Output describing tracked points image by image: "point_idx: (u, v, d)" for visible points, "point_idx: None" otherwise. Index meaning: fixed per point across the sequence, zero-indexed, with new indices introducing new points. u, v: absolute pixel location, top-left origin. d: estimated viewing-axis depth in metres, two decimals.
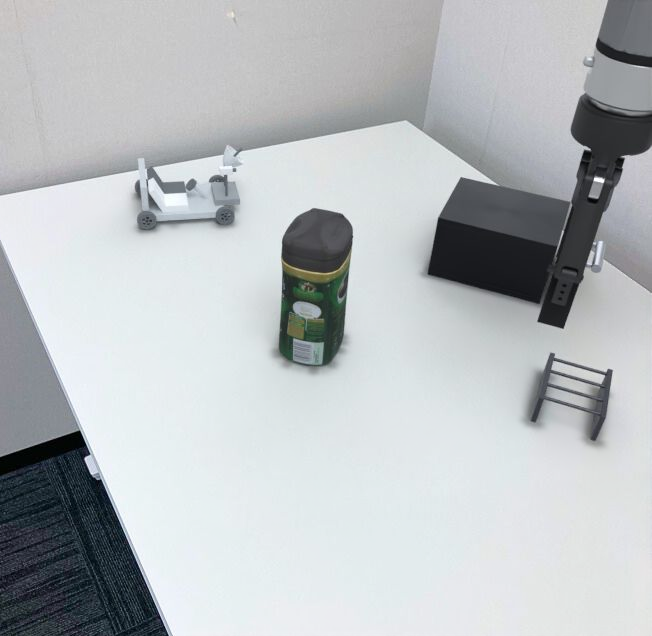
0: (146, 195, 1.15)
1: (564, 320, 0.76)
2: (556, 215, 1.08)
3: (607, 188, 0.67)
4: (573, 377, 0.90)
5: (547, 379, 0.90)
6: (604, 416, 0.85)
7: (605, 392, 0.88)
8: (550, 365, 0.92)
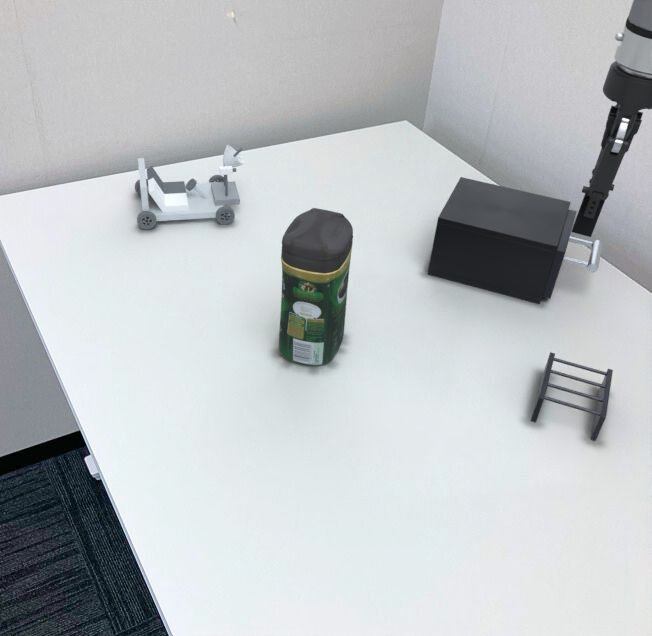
0: (146, 195, 1.15)
1: (591, 230, 1.05)
2: (556, 215, 1.08)
3: (624, 149, 0.92)
4: (573, 377, 0.90)
5: (547, 379, 0.90)
6: (604, 416, 0.85)
7: (605, 392, 0.88)
8: (550, 365, 0.92)
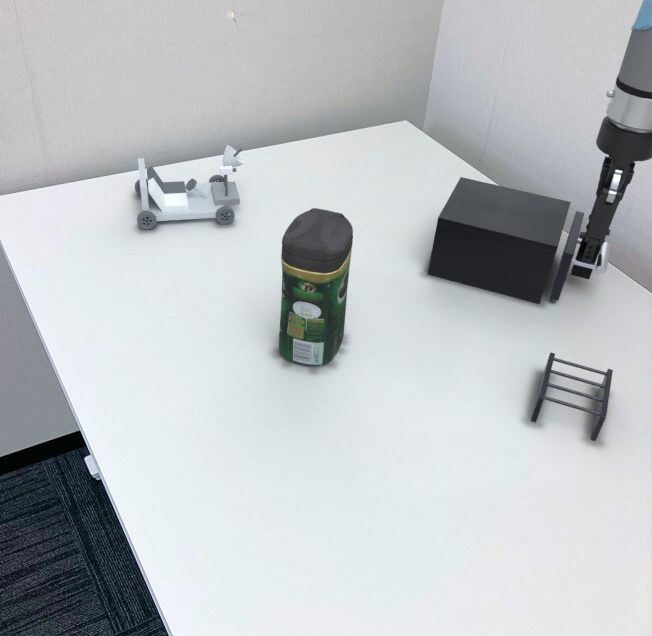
0: (146, 195, 1.15)
1: (590, 273, 1.09)
2: (556, 215, 1.08)
3: (617, 200, 0.96)
4: (573, 377, 0.90)
5: (547, 379, 0.90)
6: (604, 416, 0.85)
7: (605, 392, 0.88)
8: (550, 365, 0.92)
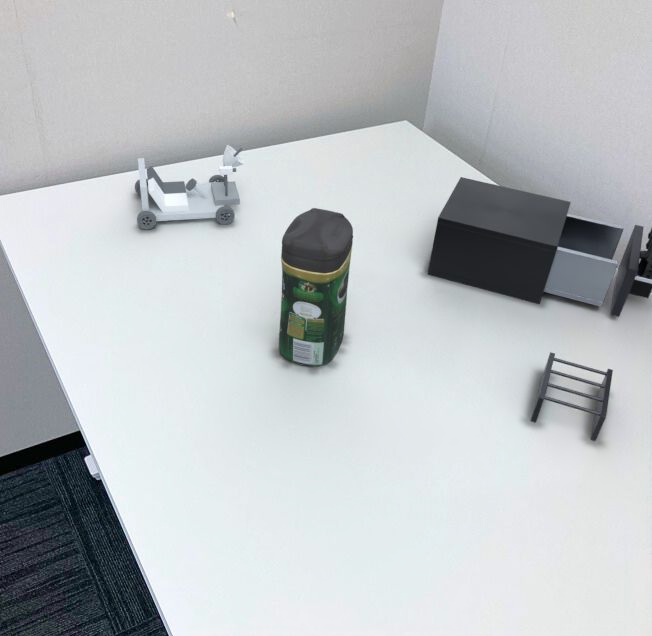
0: (146, 195, 1.15)
1: (649, 292, 1.07)
2: (556, 215, 1.08)
3: None
4: (573, 377, 0.90)
5: (547, 379, 0.90)
6: (604, 416, 0.85)
7: (605, 392, 0.88)
8: (550, 365, 0.92)
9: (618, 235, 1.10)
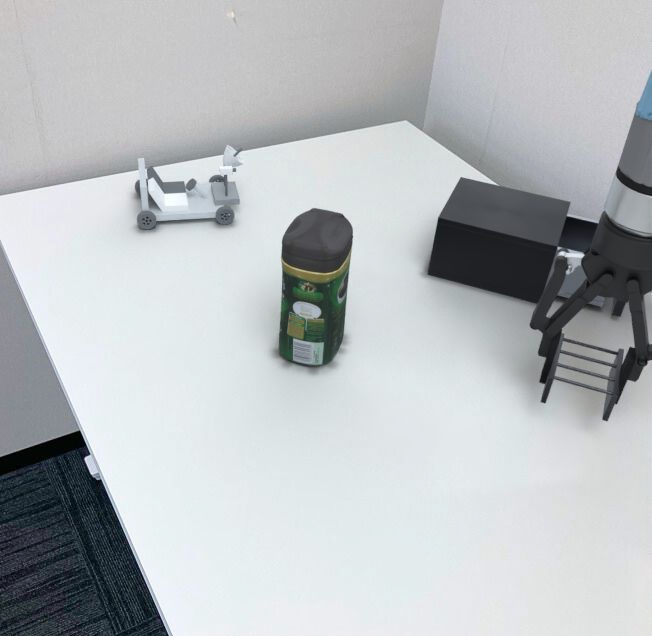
0: (146, 195, 1.15)
1: (541, 374, 0.89)
2: (556, 215, 1.08)
3: None
4: (583, 357, 0.88)
5: (557, 359, 0.87)
6: (616, 395, 0.83)
7: (617, 371, 0.86)
8: (560, 345, 0.89)
9: None
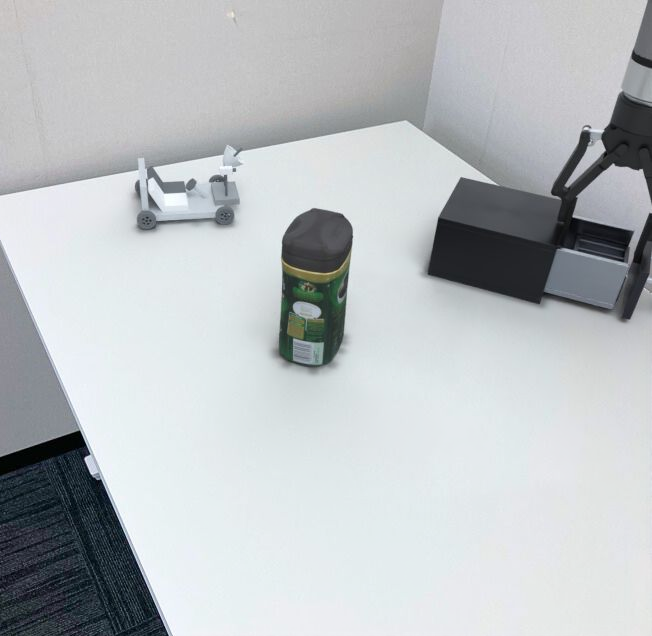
0: (146, 195, 1.15)
1: (560, 238, 1.07)
2: (556, 215, 1.08)
3: (580, 135, 0.98)
4: (597, 252, 1.09)
5: None
6: None
7: (624, 262, 1.06)
8: (577, 243, 1.10)
9: (628, 238, 1.09)
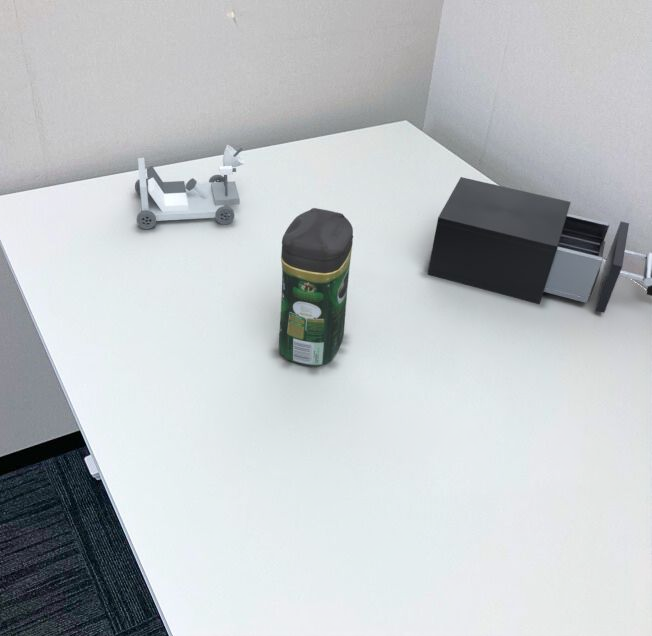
0: (146, 195, 1.15)
1: None
2: (556, 215, 1.08)
3: None
4: (572, 246, 1.09)
5: None
6: (598, 271, 1.04)
7: (599, 256, 1.07)
8: None
9: (603, 232, 1.10)
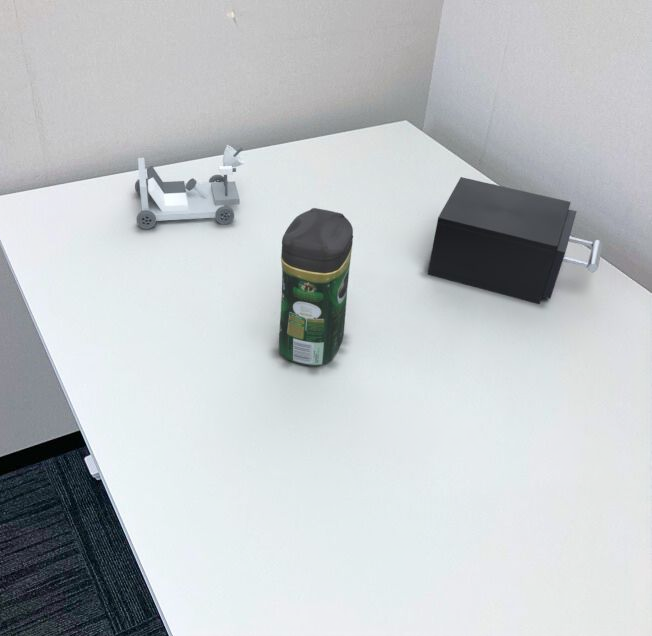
0: (146, 195, 1.15)
1: None
2: (556, 215, 1.08)
3: None
4: None
5: None
6: None
7: None
8: None
9: None
